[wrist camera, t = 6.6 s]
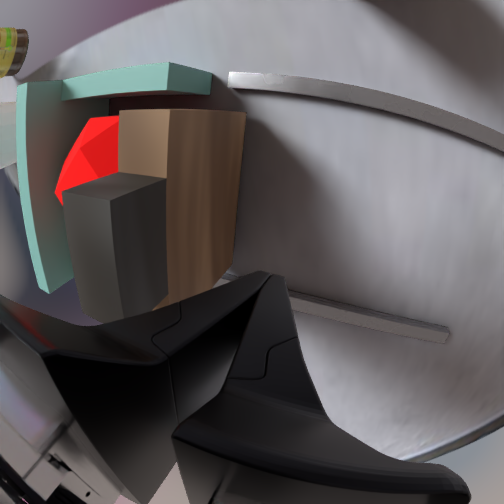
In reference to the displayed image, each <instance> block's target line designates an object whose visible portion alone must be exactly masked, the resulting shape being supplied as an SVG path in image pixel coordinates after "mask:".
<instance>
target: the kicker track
mask: <svg viewBox="0 0 504 504" xmlns="http://www.w3.org/2000/svg"><path fill="white" fill-rule="evenodd" d="M228 87H229V88H234V89H251V90H263V91H274V92H283V93H292V94H299V95H307V96H313V97H320V98H326V99H332V100H337V101H343V102H348V103H353V104H357V105H362V106H367V107H371V108H375V109H379V110H383V111H387V112H391V113H395V114H399V115H402V116H406V117H410V118H413V119H416V120H420V121H423V122H426V123H429V124H432V125H435V126H438V127H441V128H444V129H447V130H450V131H453V132H455V133H458V134H461V135H464V136H466V137H469V138H471V139H474V140H476V141H479V142H481V143H484V144H486V145H488V146H491V147H493V148H495V149H497V150H500V151H502V152H504V134H502V133H499V132H497V131H495V130H493V129H491V128H488V127H486V126H484V125H481V124H479V123H477V122H474V121H472V120H469V119H467V118H464V117H462V116H459V115H456V114H454V113H451V112H448V111H445V110H443V109H440V108H437V107H434V106H431V105H428V104H424V103H421V102H418V101H415V100H411V99H408V98H404V97H401V96H397V95H393V94H389V93H385V92H381V91H377V90H373V89H368V88H364V87H359V86H354V85H349V84H343V83H338V82H332V81H326V80H319V79H312V78H305V77H297V76H288V75H277V74H265V73H248V72H229V78H228ZM238 278H241V277H237V276H233V275H230V274H226V273H224V275H223V276H222V277H221V278H220V279H219V280H218V282H217V283H216V284H215V285H214V286H213V288H215V287H218V286H220V285H223V284H226V283H228V282H231V281H233V280H236V279H238ZM288 293H289V298H290V302H291V307H292V310H296V311H300V312H304V313H307V314H311V315H315V316H319V317H323V318H328V319H332V320H336V321H340V322H344V323H348V324H353V325H357V326H361V327H366V328H370V329H375V330H379V331H384V332H388V333H393V334H397V335H402V336H407V337H412V338H417V339H421V340H426V341H431V342H437V343H442V344H444V343H445V341H446V339H447V337H448V336H449V334H450V333H449V330H448V327H445V326H440V325H436V324H431V323H426V322H422V321H417V320H413V319H408V318H404V317H399V316H395V315H390V314H386V313H382V312H377V311H373V310H369V309H364V308H360V307H356V306H352V305H348V304H343V303H339V302H335V301H331V300H327V299H323V298H319V297H315V296H311V295H307V294H303V293H299V292H295V291H291V290H288Z"/></svg>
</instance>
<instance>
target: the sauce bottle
mask: <svg viewBox="0 0 504 504" xmlns="http://www.w3.org/2000/svg"><path fill="white" fill-rule="evenodd" d="M28 43H29V39H28V34H27V31H26V30H25V29H15V28H0V78H3V77H4V76H13V75H15V74H17V73H18V72H19V70H20V69H21V67H22V64H23V62H24V60H25V57H26V54H27V49H28Z"/></svg>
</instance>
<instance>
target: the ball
mask: <svg viewBox="0 0 504 504" xmlns="http://www.w3.org/2000/svg"><path fill="white" fill-rule="evenodd" d="M118 134H119V115H116V116H105V117H96V118H90V119H89V121H88V122H87V124H86V125H85V127H84V129H83V130H82V132H81V133H80V135H79V137H78V138H77V140H76V142H75V143H74V145H73V147H72V149H71V150H70V152H69V154H68V156H67V157H66V159H65V161H64V164H63V167H62V170H61V174H60V177H59V180H58V183H57V187H56V190H55V194H56V196H57V197H58V199H59V201H60V202H61V204H62V206H63V202H62V191H64V190H67V189H69V188H72V187H75V186H78V185H80V184H83V183H86V182H89V181H92V180H95V179H98V178H101V177H104V176H107V175H110V174H113V173H117V172H118Z"/></svg>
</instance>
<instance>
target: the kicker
mask: <svg viewBox="0 0 504 504" xmlns="http://www.w3.org/2000/svg"><path fill="white" fill-rule="evenodd" d="M246 113H247V112H236V111H222V110H204V109H139V110H119V134H118V172H117V173H113V174H110V175H107V176H104V177H101V178H98V179H95V180H92V181H89V182H86V183H83V184H80V185H78V186H75V187H72V188H69V189H67V190H64V191H62V202H63V211H64V219H65V226H66V233H67V240H68V246H69V252H70V257H71V263H72V268H73V273H74V277H75V281H76V286H77V290H78V295H79V299H80V303H81V307H82V311H83V313H84V314H86V315H88V316H90V317H92V318H94V319H96V320H97V321H99V322H102V323H103V324H105V323H109V322H113V321H116V320H120V319H124V318H128V317H132V316H135V315H139V314H143V313H146V312H149V311H153V310H156V309H159V308H162V307H165V306H167V305H170V304H173V303H175V302H179V301H181V300H184V299H186V298H189V297H192V296H194V295H197V294H199V293H202V292H205V291H207V290H210V289H212V288H213V286H214V285H215V284H216V283H217V282H218V280H219V279H220V278H221V277H222V276H223V275H224V273H225V272H226V271H227V270H228V269H229V267H230V266H231V265H232V260H233V249H234V237H235V226H236V214H237V204H238V193H239V182H240V172H241V162H242V152H243V142H244V132H245V123H246Z"/></svg>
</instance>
